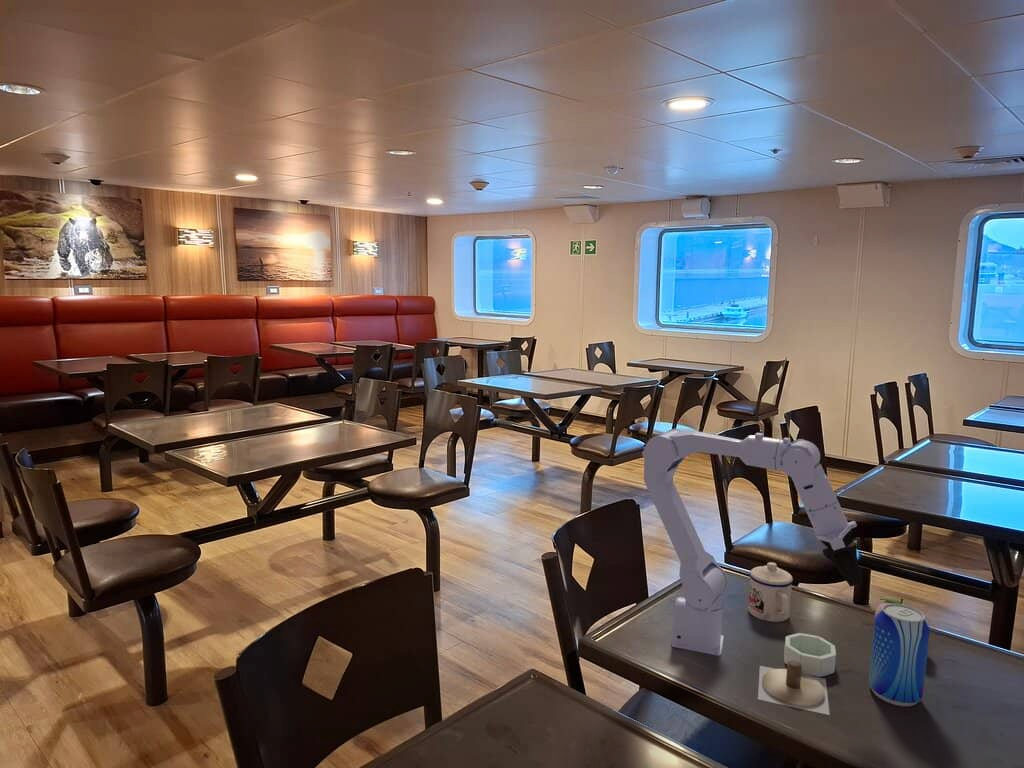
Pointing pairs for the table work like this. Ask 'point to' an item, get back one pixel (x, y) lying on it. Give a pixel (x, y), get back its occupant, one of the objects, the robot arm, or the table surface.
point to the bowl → (810, 654)
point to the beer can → (899, 655)
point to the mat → (764, 696)
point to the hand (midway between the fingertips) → (854, 578)
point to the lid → (793, 686)
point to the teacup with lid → (770, 593)
